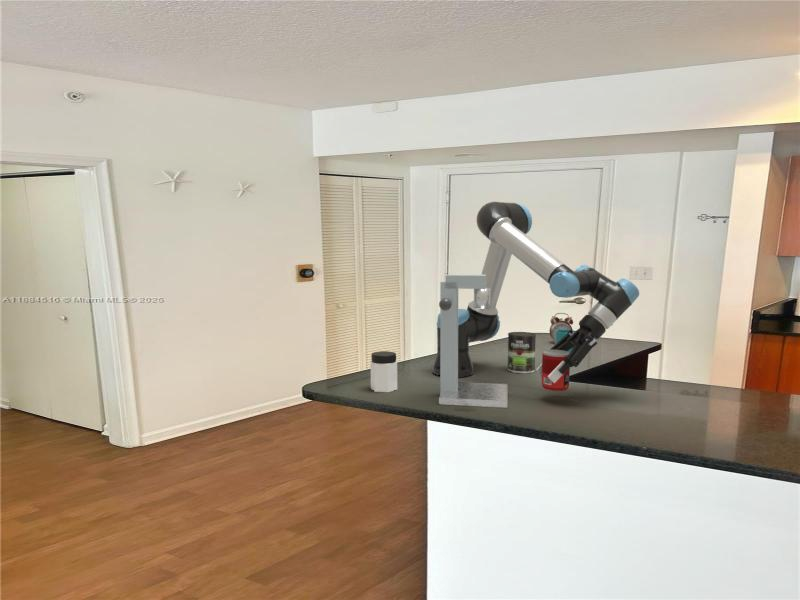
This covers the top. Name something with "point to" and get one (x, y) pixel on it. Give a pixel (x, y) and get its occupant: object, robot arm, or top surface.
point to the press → (449, 384)
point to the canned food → (549, 364)
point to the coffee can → (521, 352)
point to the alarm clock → (560, 324)
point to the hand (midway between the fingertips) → (544, 376)
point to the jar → (383, 371)
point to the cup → (561, 335)
